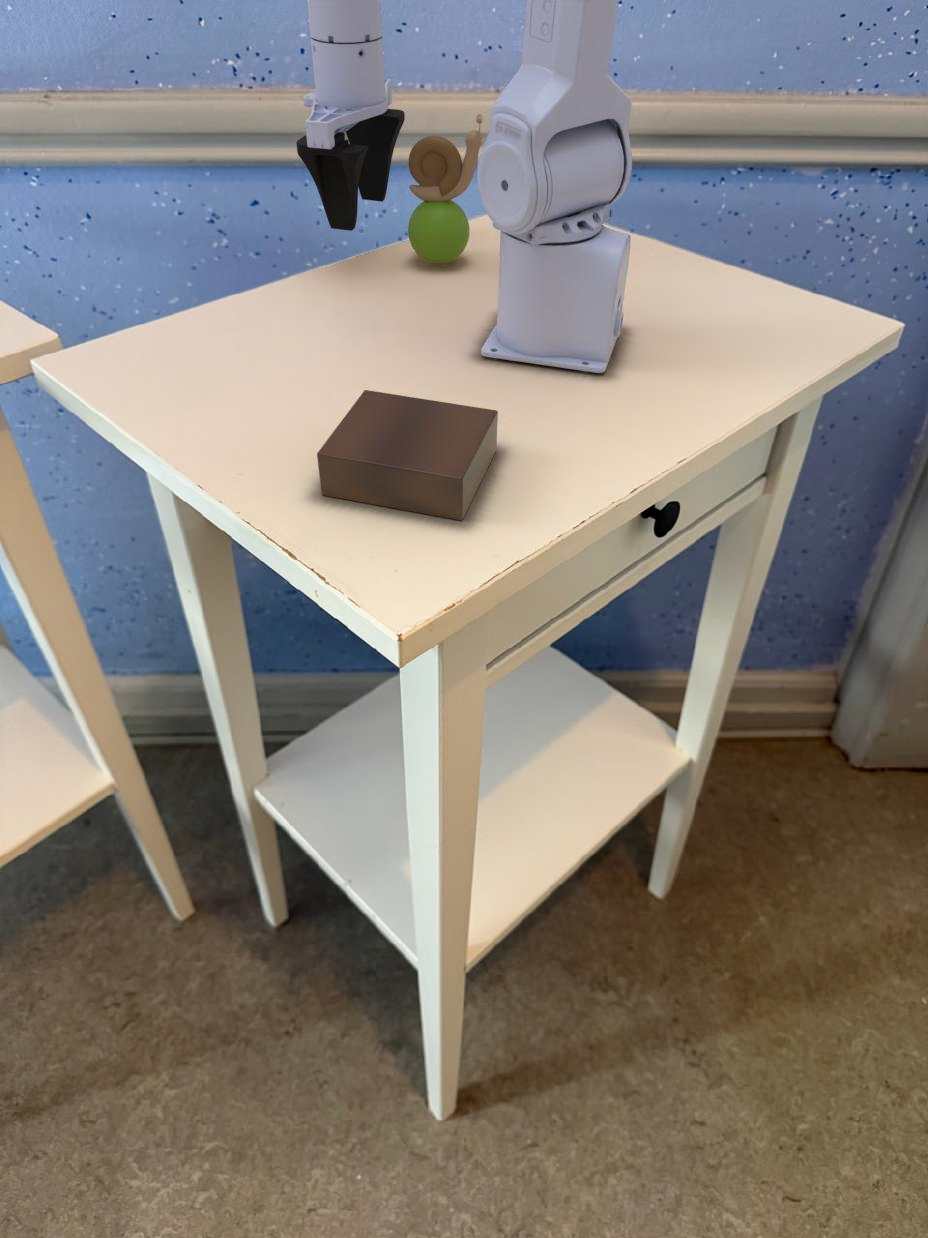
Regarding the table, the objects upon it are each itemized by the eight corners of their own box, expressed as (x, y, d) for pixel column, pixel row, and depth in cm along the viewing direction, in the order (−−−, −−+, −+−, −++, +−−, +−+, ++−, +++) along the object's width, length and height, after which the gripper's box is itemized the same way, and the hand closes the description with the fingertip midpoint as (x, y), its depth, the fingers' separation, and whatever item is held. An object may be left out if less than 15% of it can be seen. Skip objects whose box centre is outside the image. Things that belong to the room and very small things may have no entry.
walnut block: (496, 450, 59) (498, 409, 57) (462, 521, 54) (462, 478, 52) (367, 429, 61) (364, 389, 59) (321, 495, 56) (316, 453, 54)
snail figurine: (479, 274, 80) (482, 124, 72) (407, 272, 80) (402, 123, 72) (480, 250, 84) (483, 106, 76) (411, 249, 84) (406, 104, 76)
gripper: (334, 16, 78) (346, 183, 88) (260, 51, 68) (283, 236, 77) (412, 21, 77) (416, 190, 86) (349, 58, 67) (361, 246, 76)
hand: (358, 213), depth 82 cm, fingers open, 7 cm apart
